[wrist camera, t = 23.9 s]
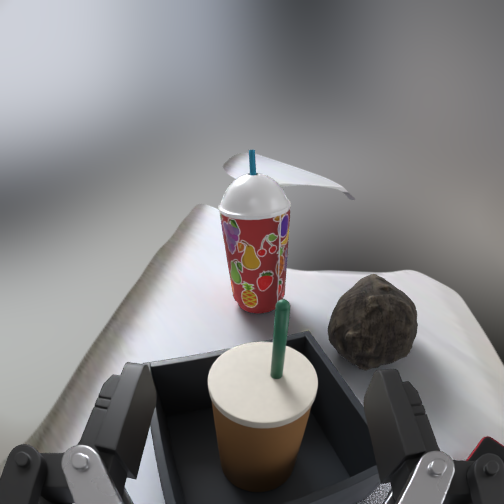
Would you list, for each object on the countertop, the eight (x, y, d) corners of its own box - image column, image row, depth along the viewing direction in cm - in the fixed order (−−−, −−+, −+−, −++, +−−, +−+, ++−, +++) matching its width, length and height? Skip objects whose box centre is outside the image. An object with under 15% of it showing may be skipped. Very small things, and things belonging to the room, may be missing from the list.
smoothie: (301, 296, 44) (304, 147, 35) (265, 329, 38) (258, 159, 29) (254, 278, 49) (246, 143, 40) (215, 305, 43) (198, 154, 34)
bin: (193, 553, 15) (173, 536, 11) (159, 415, 27) (142, 362, 23) (367, 497, 19) (401, 460, 15) (299, 384, 31) (308, 330, 27)
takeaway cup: (232, 502, 19) (218, 366, 11) (211, 441, 24) (188, 280, 16) (307, 479, 21) (360, 329, 13) (278, 424, 26) (298, 262, 18)
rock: (408, 314, 38) (417, 251, 33) (413, 386, 30) (432, 324, 24) (334, 313, 42) (331, 251, 37) (324, 384, 33) (321, 323, 28)
